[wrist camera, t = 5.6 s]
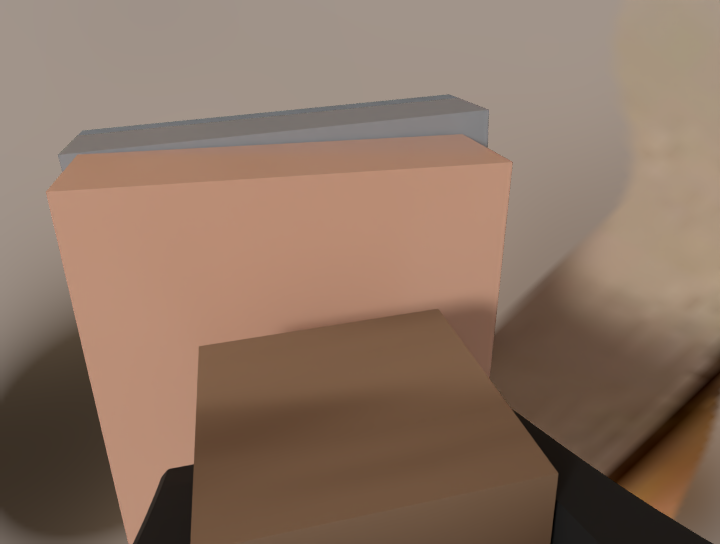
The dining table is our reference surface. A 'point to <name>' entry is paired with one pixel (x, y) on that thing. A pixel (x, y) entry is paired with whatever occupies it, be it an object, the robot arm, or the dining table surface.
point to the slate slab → (294, 127)
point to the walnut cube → (362, 442)
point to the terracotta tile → (262, 265)
